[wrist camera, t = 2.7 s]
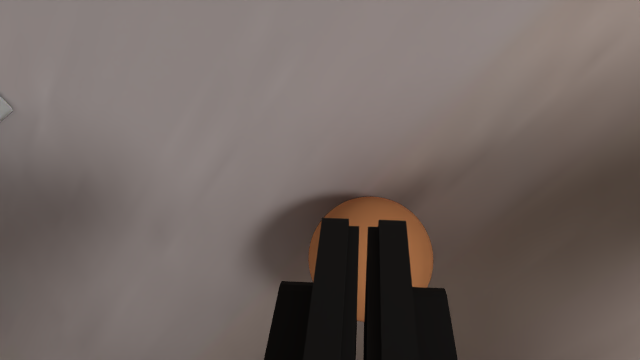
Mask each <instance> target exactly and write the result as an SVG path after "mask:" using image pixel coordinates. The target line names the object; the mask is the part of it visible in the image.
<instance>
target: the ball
mask: <svg viewBox="0 0 640 360" xmlns="http://www.w3.org/2000/svg"><path fill="white" fill-rule="evenodd" d="M324 218H343V219H349V226H359V255H358V293H357V321H362V322H364V316H365V290H366V263H367V236H368V227H378V222H379V220H401V221H406V224H407V235H408V246H409V257H410V267H411V278H412V287H423V288H427V286H428V284H429V281H430V279H431V275H432V270H433V250H432V245H431V242H430V239H429V236H428V234H427V232H426V230H425V228H424V226H423V225H422V223H421V222H420V221H419V220H418V218H417V217H416V216H415V215H414V214H413V213H412V212H410V211H409V210H408V209H407V208H405V207H404V206H402V205H400V204H399V203H397V202H394V201H392V200H389V199H385V198H380V197H360V198H355V199H351V200H348V201H346V202H344V203H342V204H340V205H338V206H337V207H335V208H334V209H332V210H331V211H330V212H329V213H328V214H327V215H326V216H325V217H324ZM321 222H322V220H321ZM321 222H320V223H319V225H318V226H317V228H316V230H315V232H314V234H313V237H312V239H311V243H310V248H309V260H308V261H309V269H310V274H311V277H312V280H313V281H314V274H315V266H316V259H317V251H318V244H319V237H320V229H321Z"/></svg>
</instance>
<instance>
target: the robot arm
mask: <svg viewBox="0 0 640 360" xmlns="http://www.w3.org/2000/svg"><path fill="white" fill-rule="evenodd" d="M358 255H359V226H349V219H343V218H322V222H321V229H320V237H319V244H318V251H317V259H316V266H315V274H314V281H313V283H310V282H288V281H282V282H281V284H280V287H279V291H278V296H277V300H276V305H275V310H274V315H273V319H272V324H271V329H270V334H269V338H268V343H267V348H266V353H265V358H264V360H356V330H357V293H358ZM364 360H457V354H456V348H455V342H454V336H453V330H452V324H451V318H450V312H449V306H448V300H447V295H446V291H445V289H444V288H423V287H412V278H411V267H410V257H409V246H408V235H407V224H406V221H401V220H379V222H378V227H368V236H367V263H366V290H365V316H364Z"/></svg>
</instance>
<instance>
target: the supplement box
mask: <svg viewBox="0 0 640 360" xmlns="http://www.w3.org/2000/svg"><path fill="white" fill-rule="evenodd" d="M12 111H13V109H12V107H11V106H10V105H9V104H8V103H7V102H6V101H5V100H4V99H3V98H2V97H1V96H0V122H1V121H2V120H3V119H4V118H6V117H7V116H8V115H9V114H10V113H11V112H12Z"/></svg>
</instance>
